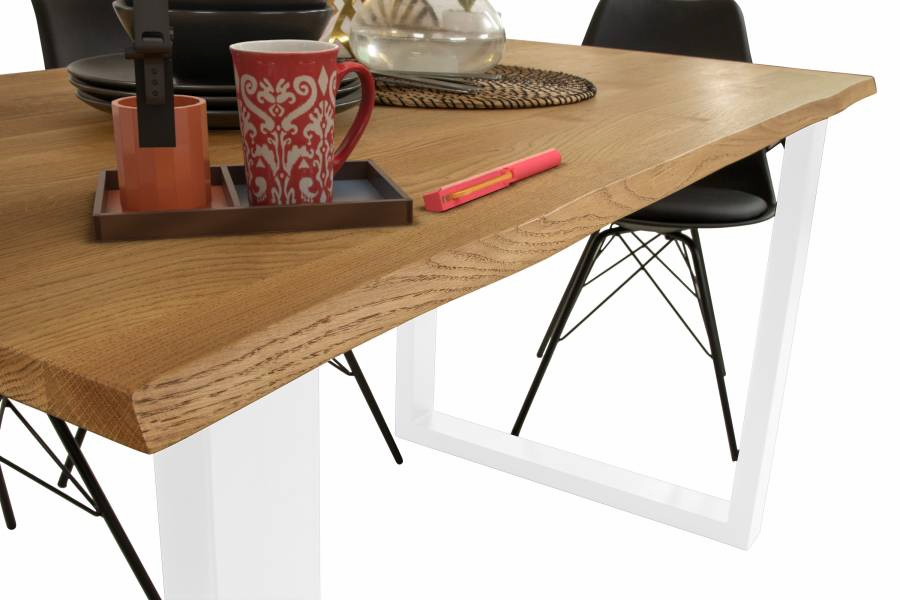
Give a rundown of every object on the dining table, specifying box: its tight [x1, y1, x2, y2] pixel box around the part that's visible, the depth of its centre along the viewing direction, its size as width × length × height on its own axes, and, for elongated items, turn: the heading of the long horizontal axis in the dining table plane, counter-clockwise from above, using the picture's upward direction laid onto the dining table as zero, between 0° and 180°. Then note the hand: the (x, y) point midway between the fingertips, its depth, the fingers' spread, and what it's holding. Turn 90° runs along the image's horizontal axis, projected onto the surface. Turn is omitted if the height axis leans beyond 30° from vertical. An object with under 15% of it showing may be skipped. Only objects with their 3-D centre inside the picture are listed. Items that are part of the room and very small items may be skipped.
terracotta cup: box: [111, 94, 212, 212], centre depth 84 cm, size 7×7×9 cm
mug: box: [228, 39, 376, 206], centre depth 86 cm, size 13×9×14 cm
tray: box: [92, 158, 414, 244], centre depth 87 cm, size 25×16×2 cm, turn 106°
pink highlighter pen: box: [422, 147, 563, 213], centre depth 97 cm, size 24×2×5 cm
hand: (156, 130), depth 83 cm, fingers open, 13 cm apart
